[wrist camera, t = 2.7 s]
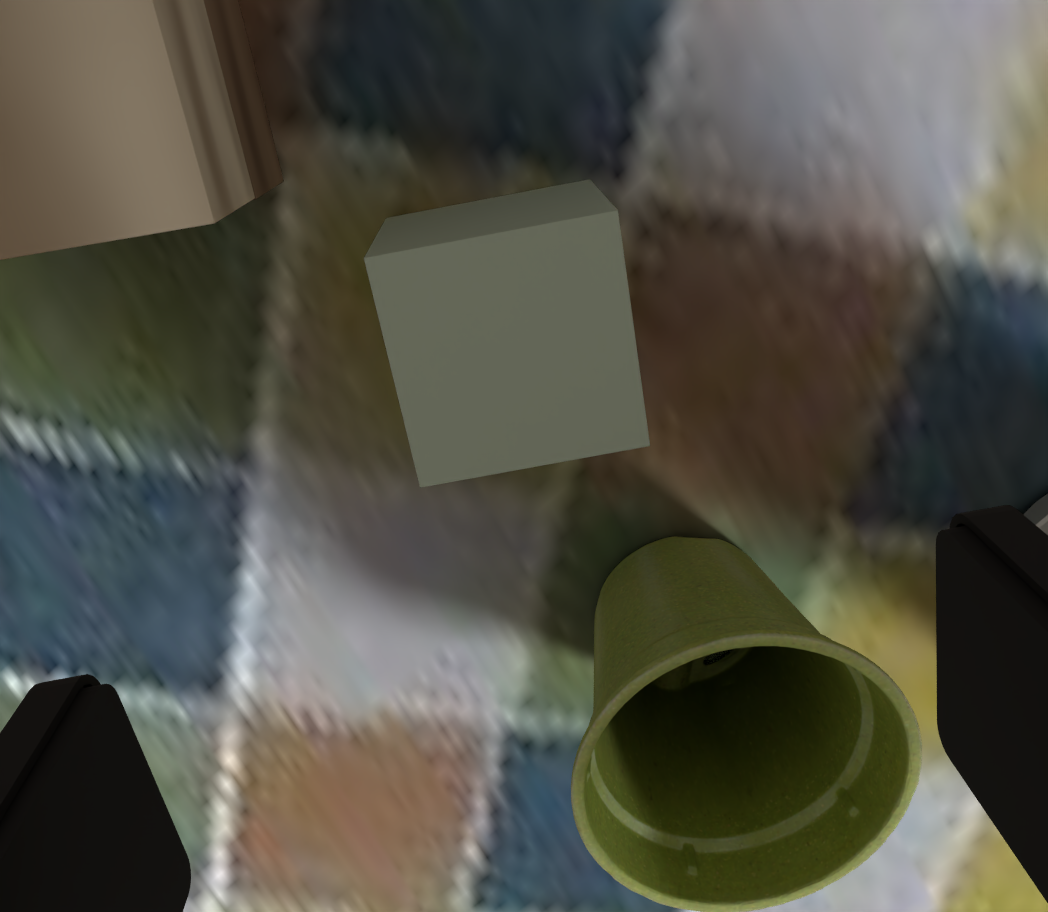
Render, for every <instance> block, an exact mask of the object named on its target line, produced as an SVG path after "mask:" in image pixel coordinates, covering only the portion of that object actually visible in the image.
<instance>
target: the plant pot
mask: <svg viewBox="0 0 1048 912" xmlns="http://www.w3.org/2000/svg"><path fill="white" fill-rule="evenodd" d="M730 649H733V650H732V651H731V652H730V653H729V654H728V655H727V656H725V657H723V658H722V659H720V660H719V661H716V662H714V663H711V664H704V663H703V661H704V659H705V658H706V657H708V656H710V655H711V654H713V653H716V652H720V651H725V650H730ZM921 761H922V743H921V736H920V730H919V726H918V723H917V720H916V717H915V714H914V712H913V710H912V708H911V706H910V704H909V702H908V701H907V699H906V697H905V696H904V694H903V693H902V691H901V690H900V689H899V687H898V686H897V685H896V683H895V682H894V681H893V680H892V679H891V678H890V677H889V675H887V674H886V673H885V672H884V671H883V670H882V669H881V668H880V667H879V666H877V665H876V664H875V663H873V662H872V661H871V660H869V659H868V658H866V657H865V656H863V655H862V654H860V653H858V652H856V651H855V650H853V649H851V648H849V647H846V646H844V645H842V644H839V643H837V642H835V641H832V640H831V639H829V638H828V637H826V636H824V635H822V634H820V633H819V632H818V631H817V629H816V628H815V627H814V626H813V625H812V624H811V623H810V622H809V621H808V620H807V619H806V618H805V617H804V616H803V615H802V614H801V613H800V612H799V610H798V609H797V608H796V607H795V606H794V605H793V604H792V603H791V602H790V601H789V600H788V599H787V598H786V597H785V596H784V594H783V593H782V592H781V591H780V590H779V589H778V588H777V586H776V585H775V584H774V583H773V582H772V581H771V580H770V578H769V577H768V576H767V575H766V574H765V573H764V572H763V571H762V570H761V569H760V568H759V567H758V566H757V564H756V563H755V562H754V561H753V560H752V559H751V558H750V557H749V556H748V555H747V554H746V553H744V552H743V551H741V550H740V549H738V548H737V547H735V546H734V545H732V544H730V543H728V542H726V541H723V540H720V539H705V538H686V537H668V538H664V539H660V540H657V541H654V542H652V543H650V544H647V545H645V546H643V547H642V548H640V549H638V550H636V551H635V552H633V553H632V554H630V555H629V556H627V557H626V558H625V559H624V560H623V561H621V562H620V563H619V564H618V565H617V566H616V567H615V569H614V570H613V571H612V572H611V573H610V575H609V576H608V578H607V579H606V581H605V583H604V584H603V587H602V589H601V592H600V595H599V599H598V603H597V606H596V611H595V620H594V707H593V715H592V717H591V720H590V723H589V726H588V728H587V730H586V732H585V734H584V736H583V738H582V741H581V743H580V746H579V748H578V751H577V754H576V758H575V762H574V766H573V772H572V781H571V801H572V809H573V814H574V819H575V823H576V826H577V829H578V831H579V834H580V836H581V838H582V840H583V842H584V844H585V846H586V848H587V849H588V851H589V852H590V854H591V855H592V857H593V858H594V859H595V860H596V862H597V863H598V864H599V865H600V866H601V867H602V868H603V869H604V870H605V871H607V872H608V873H609V874H610V875H611V876H612V877H613V878H614V879H615V880H616V881H618V882H619V883H621V884H622V885H624V886H625V887H627V888H628V889H630V890H632V891H634V892H636V893H639V894H641V895H643V896H644V897H646V898H648V899H650V900H653V901H655V902H657V903H660V904H664V905H667V906H671V907H674V908H680V909H687V910H694V911H701V912H745V911H752V910H760V909H764V908H767V907H773V906H777V905H781V904H784V903H786V902H790V901H793V900H796V899H799V898H802V897H805V896H807V895H809V894H812V893H815V892H816V891H818V890H820V889H822V888H824V887H825V886H827V885H829V884H831V883H833V882H835V881H837V880H839V879H840V878H842V877H843V876H845V875H846V874H848V873H849V872H851V871H852V870H854V869H855V868H857V867H858V866H860V865H861V864H862V863H863V862H864V861H866V860H867V859H868V858H869V857H870V856H871V855H872V854H873V853H875V852H876V851H877V850H878V848H879V847H880V846H881V845H882V844H883V843H884V842H885V841H886V839H887V837H888V836H889V835H890V834H891V833H892V832H893V831H894V829H895V828H896V827H897V825H898V823H899V822H900V820H901V819H902V817H903V816H904V814H905V812H906V810H907V808H908V806H909V804H910V801H911V799H912V796H913V794H914V792H915V790H916V787H917V785H918V782H919V775H920V769H921Z"/></svg>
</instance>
